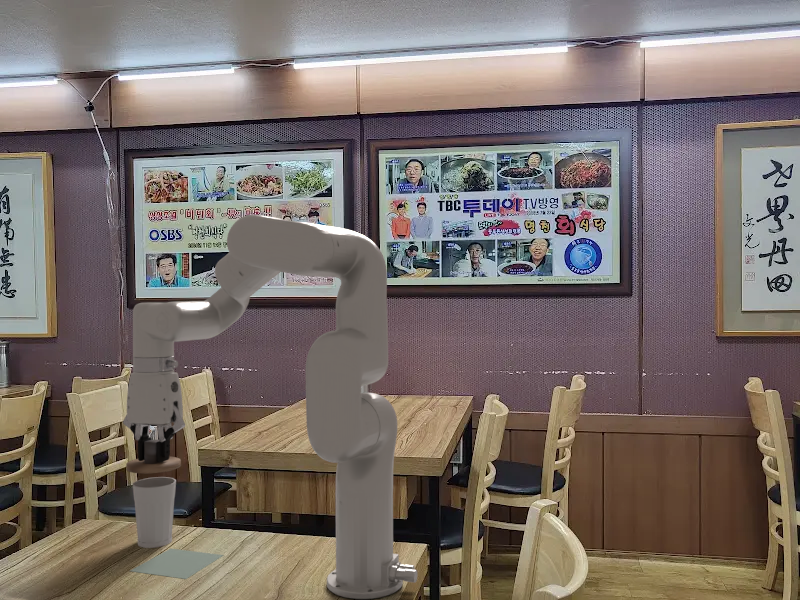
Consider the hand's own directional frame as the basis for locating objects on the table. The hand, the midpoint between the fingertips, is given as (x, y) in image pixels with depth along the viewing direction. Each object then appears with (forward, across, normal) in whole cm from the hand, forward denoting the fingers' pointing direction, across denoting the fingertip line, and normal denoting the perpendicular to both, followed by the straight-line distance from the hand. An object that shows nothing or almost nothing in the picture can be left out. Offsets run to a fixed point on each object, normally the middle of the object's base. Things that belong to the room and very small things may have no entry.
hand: (153, 459), depth 137 cm
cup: (+17, 0, 0) cm, 17 cm away
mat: (+16, -11, +8) cm, 21 cm away
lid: (+2, 0, 0) cm, 2 cm away
